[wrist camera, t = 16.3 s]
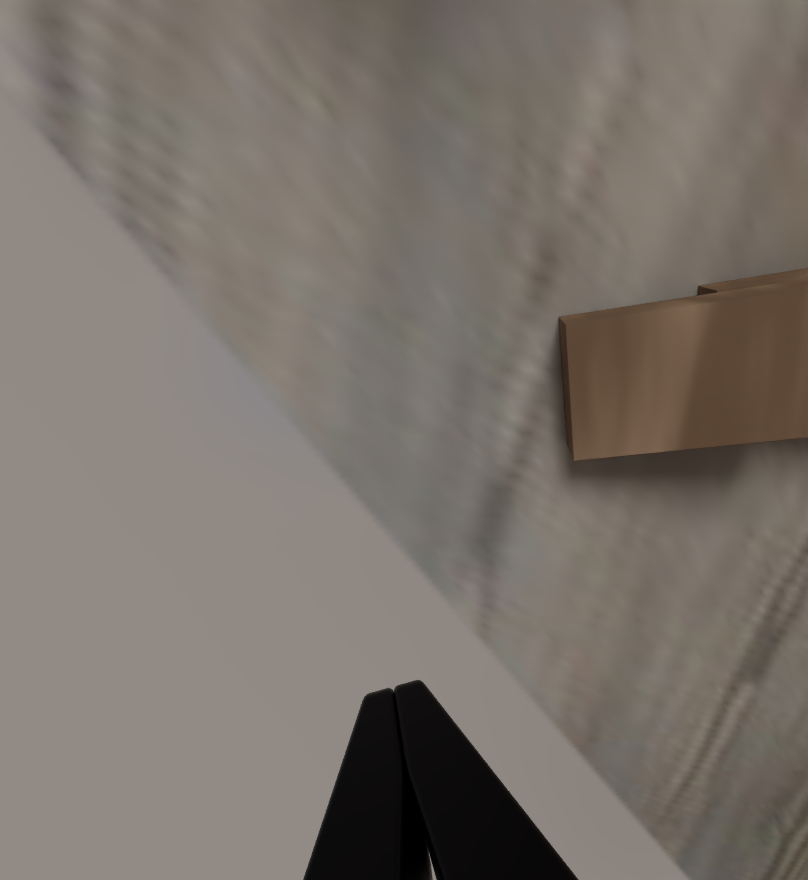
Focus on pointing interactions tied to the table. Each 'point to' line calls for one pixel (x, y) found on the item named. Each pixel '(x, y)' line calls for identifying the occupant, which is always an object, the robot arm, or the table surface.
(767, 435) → the domino
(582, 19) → the table surface
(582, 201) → the table surface
